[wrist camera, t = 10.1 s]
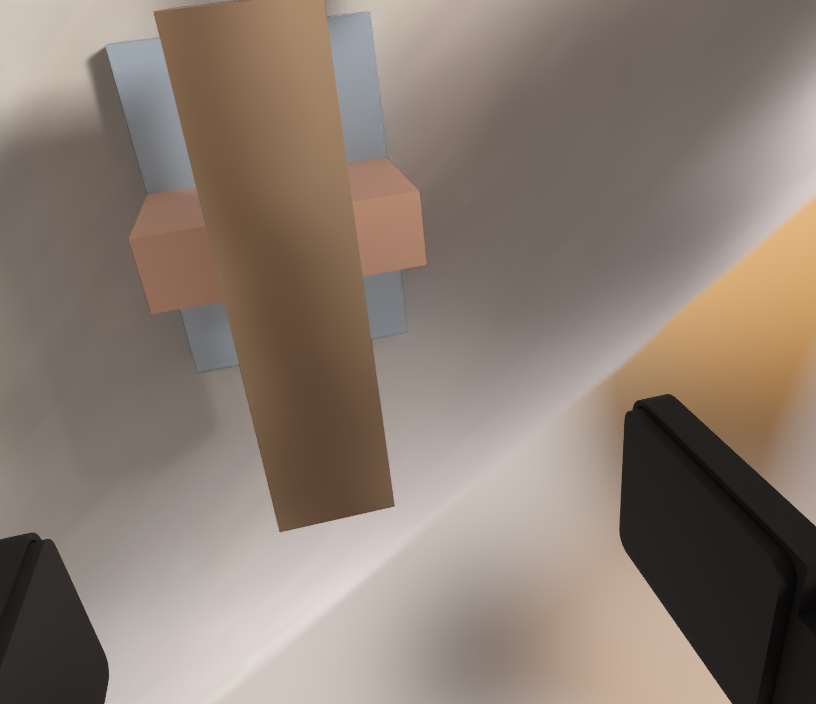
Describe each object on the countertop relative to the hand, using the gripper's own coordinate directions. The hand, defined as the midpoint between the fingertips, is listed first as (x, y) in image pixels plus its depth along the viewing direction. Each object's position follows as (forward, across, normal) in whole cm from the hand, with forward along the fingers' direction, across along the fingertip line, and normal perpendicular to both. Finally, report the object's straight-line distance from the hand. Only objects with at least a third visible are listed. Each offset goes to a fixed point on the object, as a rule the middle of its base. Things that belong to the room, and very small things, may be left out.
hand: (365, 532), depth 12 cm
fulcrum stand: (+22, 0, 0) cm, 22 cm away
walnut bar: (+15, 0, 0) cm, 15 cm away
